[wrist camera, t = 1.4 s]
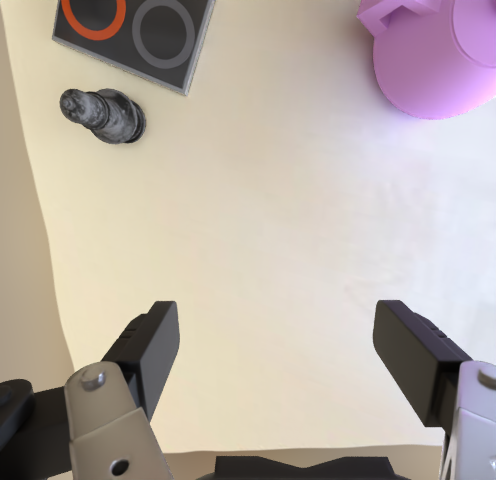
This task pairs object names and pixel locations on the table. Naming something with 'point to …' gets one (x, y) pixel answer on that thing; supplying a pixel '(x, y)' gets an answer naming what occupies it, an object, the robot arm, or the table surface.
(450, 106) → the teapot
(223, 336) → the table surface
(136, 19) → the hob
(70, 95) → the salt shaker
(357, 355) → the table surface
